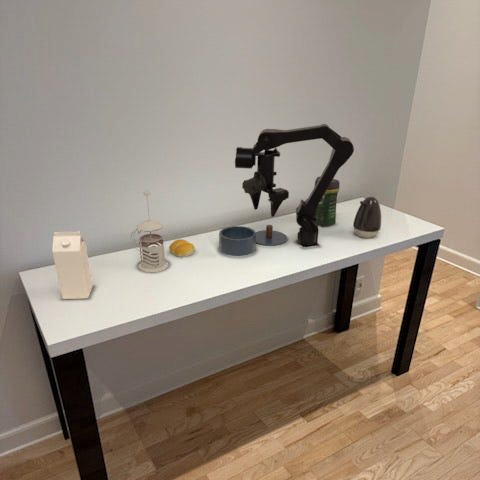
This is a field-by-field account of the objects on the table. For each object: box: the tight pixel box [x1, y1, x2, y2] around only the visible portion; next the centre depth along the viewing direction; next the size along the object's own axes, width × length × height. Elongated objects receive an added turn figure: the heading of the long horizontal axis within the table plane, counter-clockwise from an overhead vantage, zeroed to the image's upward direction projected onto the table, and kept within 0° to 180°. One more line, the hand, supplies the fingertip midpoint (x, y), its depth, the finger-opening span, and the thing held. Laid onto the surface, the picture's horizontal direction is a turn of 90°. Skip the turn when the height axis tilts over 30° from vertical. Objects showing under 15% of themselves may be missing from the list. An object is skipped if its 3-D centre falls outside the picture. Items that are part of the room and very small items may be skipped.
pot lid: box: [255, 224, 289, 247], centre depth 164 cm, size 14×14×6 cm
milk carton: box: [51, 231, 94, 300], centre depth 125 cm, size 7×7×19 cm
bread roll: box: [168, 238, 196, 258], centre depth 154 cm, size 8×9×4 cm
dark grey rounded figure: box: [352, 196, 382, 239], centre depth 167 cm, size 10×10×15 cm
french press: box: [130, 190, 169, 273], centre depth 140 cm, size 10×12×25 cm
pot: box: [218, 225, 257, 257], centre depth 156 cm, size 13×13×6 cm
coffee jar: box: [313, 176, 341, 227], centre depth 177 cm, size 10×8×19 cm
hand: (264, 212), depth 158 cm, fingers open, 9 cm apart
